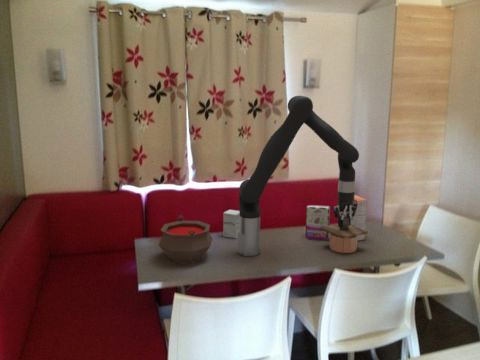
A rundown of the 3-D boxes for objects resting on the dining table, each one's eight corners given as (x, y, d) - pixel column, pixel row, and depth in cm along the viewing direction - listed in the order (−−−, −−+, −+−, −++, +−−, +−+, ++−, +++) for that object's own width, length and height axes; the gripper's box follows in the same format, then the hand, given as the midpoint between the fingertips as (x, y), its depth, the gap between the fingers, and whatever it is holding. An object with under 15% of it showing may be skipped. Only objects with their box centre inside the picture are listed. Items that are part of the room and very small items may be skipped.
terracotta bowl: (342, 254, 187) (343, 239, 186) (324, 246, 197) (325, 232, 196) (361, 249, 193) (362, 235, 192) (343, 242, 203) (343, 228, 202)
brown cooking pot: (154, 251, 190) (153, 216, 187) (205, 245, 198) (204, 211, 195) (164, 271, 168) (163, 232, 165) (220, 263, 176) (220, 226, 173)
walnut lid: (343, 238, 184) (344, 224, 182) (320, 229, 196) (321, 215, 195) (367, 233, 191) (368, 219, 190) (344, 224, 204) (345, 211, 202)
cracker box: (339, 232, 217) (341, 193, 213) (349, 231, 219) (351, 193, 215) (354, 241, 204) (357, 200, 200) (365, 240, 206) (367, 199, 202)
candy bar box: (328, 237, 210) (330, 206, 207) (327, 240, 205) (329, 208, 202) (306, 235, 213) (307, 204, 210) (305, 238, 208) (306, 206, 205)
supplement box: (222, 236, 210) (222, 212, 208) (229, 232, 217) (229, 209, 214) (235, 239, 207) (235, 214, 204) (242, 234, 213) (242, 210, 211)
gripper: (340, 193, 183) (338, 230, 186) (363, 190, 190) (361, 226, 194) (328, 190, 189) (327, 226, 193) (351, 187, 197) (349, 222, 200)
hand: (344, 226), depth 193 cm, fingers closed on walnut lid, 4 cm apart
